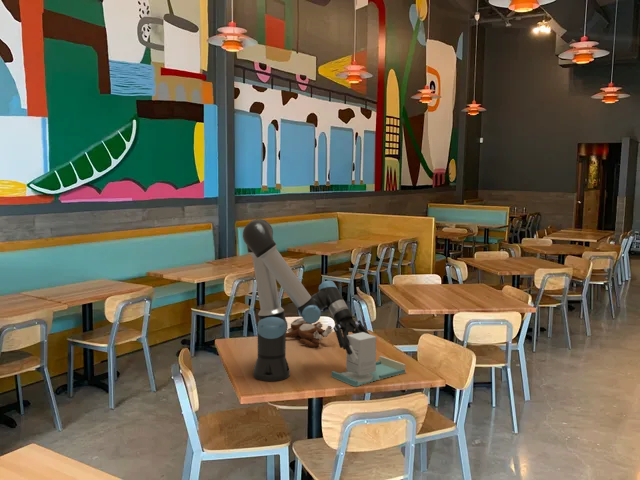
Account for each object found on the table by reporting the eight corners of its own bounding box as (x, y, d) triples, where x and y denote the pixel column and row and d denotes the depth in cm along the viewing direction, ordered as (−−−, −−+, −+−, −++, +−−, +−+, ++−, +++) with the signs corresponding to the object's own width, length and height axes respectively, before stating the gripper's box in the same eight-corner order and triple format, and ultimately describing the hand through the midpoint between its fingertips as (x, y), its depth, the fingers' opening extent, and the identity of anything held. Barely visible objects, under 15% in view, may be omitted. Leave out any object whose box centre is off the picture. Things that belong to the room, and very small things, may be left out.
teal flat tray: (355, 387, 226) (355, 377, 225) (331, 376, 237) (331, 367, 237) (405, 372, 243) (405, 364, 243) (380, 363, 255) (381, 355, 254)
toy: (306, 335, 271) (270, 324, 293) (309, 355, 273) (272, 343, 295) (340, 321, 284) (302, 311, 307) (342, 340, 286) (305, 329, 309)
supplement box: (362, 365, 242) (363, 331, 240) (376, 371, 235) (377, 336, 233) (345, 369, 237) (346, 334, 235) (358, 376, 230) (359, 339, 228)
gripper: (355, 314, 253) (379, 358, 242) (316, 321, 240) (340, 368, 229) (364, 304, 248) (388, 349, 238) (324, 311, 235) (349, 358, 224)
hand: (365, 358), depth 233 cm, fingers closed on supplement box, 9 cm apart
